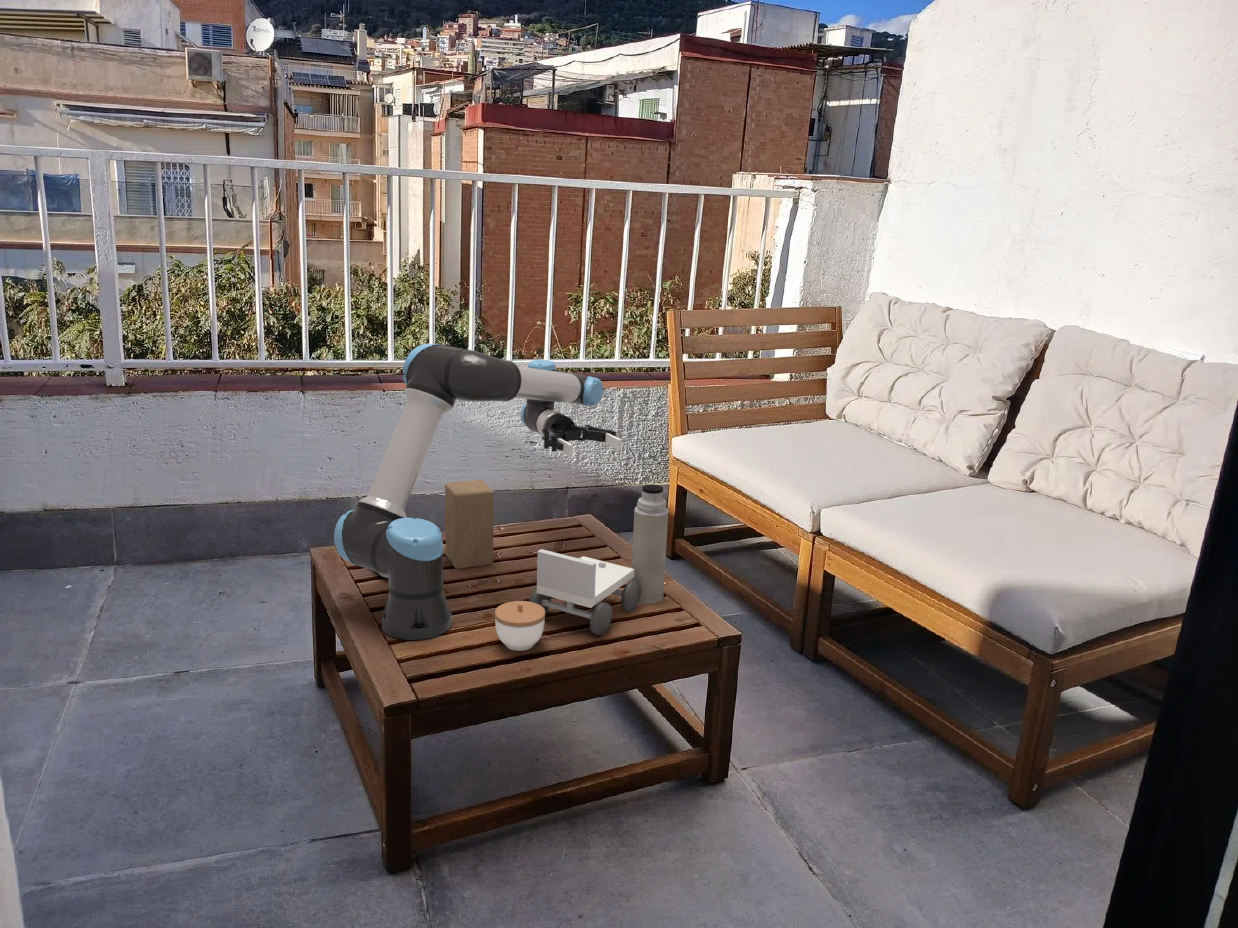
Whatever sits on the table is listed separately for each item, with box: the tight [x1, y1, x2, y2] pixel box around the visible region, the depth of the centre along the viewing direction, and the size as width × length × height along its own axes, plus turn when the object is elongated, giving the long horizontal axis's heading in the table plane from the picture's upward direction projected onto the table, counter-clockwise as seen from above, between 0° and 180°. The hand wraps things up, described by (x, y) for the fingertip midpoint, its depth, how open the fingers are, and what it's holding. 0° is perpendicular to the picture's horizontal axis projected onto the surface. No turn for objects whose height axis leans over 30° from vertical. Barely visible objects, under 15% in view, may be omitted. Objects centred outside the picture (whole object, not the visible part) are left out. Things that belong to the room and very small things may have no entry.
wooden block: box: [444, 479, 494, 570], centre depth 250 cm, size 10×10×20 cm
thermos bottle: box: [630, 483, 669, 605], centre depth 231 cm, size 8×8×28 cm
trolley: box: [528, 548, 641, 636], centre depth 223 cm, size 21×18×17 cm
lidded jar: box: [494, 600, 546, 652], centre depth 208 cm, size 11×11×9 cm
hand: (596, 447), depth 238 cm, fingers open, 13 cm apart
